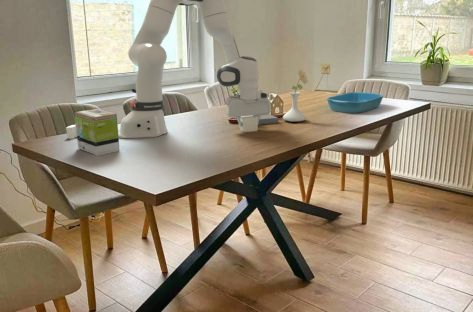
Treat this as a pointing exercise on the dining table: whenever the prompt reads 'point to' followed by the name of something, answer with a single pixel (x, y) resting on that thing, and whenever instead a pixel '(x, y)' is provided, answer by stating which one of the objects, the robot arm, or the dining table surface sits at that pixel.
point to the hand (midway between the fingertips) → (248, 125)
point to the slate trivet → (268, 119)
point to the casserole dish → (354, 101)
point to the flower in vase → (295, 113)
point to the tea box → (97, 131)
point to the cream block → (249, 123)
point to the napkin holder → (71, 132)
